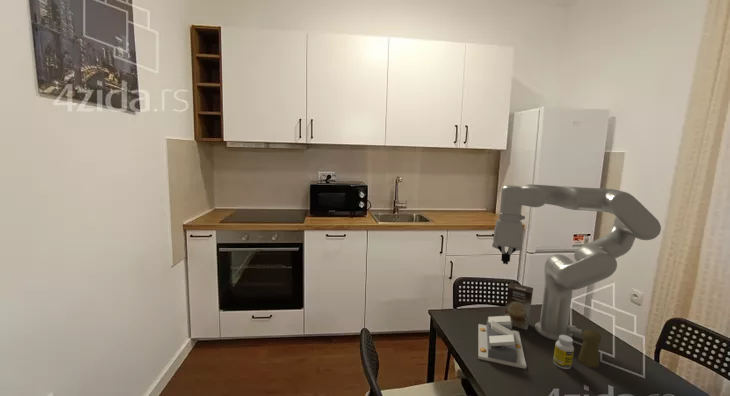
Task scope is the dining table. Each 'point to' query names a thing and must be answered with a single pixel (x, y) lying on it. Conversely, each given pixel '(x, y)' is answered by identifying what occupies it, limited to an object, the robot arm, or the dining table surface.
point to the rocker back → (500, 320)
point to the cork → (590, 349)
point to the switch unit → (497, 353)
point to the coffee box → (519, 305)
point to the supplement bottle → (563, 352)
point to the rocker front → (501, 340)
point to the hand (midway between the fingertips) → (505, 263)
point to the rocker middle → (500, 329)
